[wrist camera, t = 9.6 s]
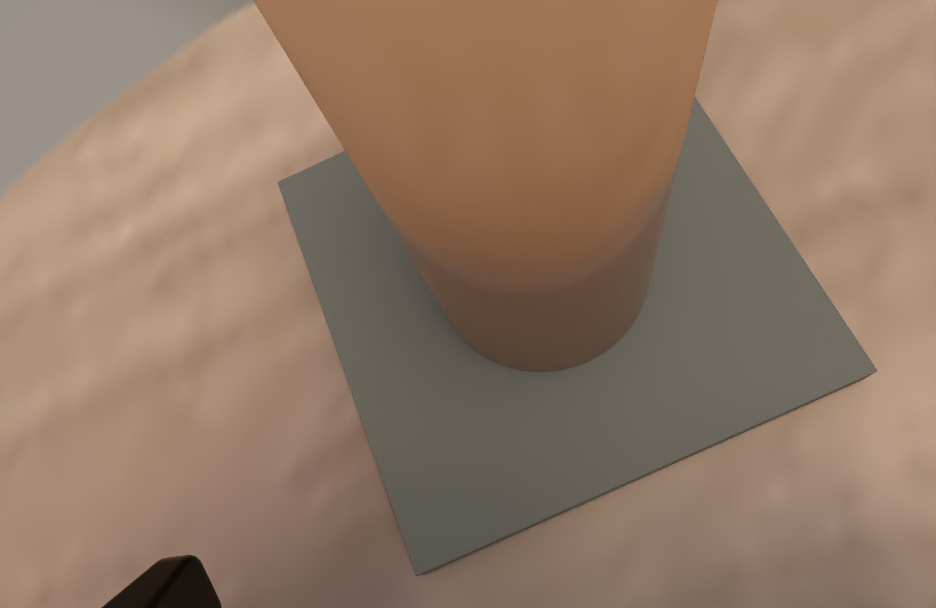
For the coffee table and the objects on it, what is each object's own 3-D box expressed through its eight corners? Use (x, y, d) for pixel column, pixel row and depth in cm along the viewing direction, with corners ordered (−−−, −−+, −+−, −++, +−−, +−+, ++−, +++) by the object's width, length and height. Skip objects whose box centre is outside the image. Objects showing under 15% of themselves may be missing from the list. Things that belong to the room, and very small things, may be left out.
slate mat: (864, 379, 16) (877, 370, 15) (424, 574, 16) (416, 575, 15) (638, 35, 20) (640, 15, 19) (289, 195, 20) (277, 181, 19)
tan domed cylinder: (660, 366, 16) (904, -221, 4) (437, 377, 17) (35, -78, 4) (638, 166, 18) (756, -680, 5) (437, 184, 18) (146, -521, 6)
